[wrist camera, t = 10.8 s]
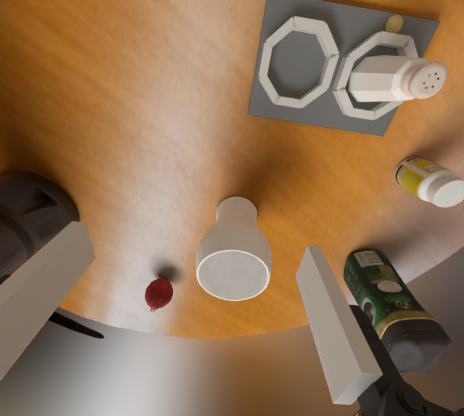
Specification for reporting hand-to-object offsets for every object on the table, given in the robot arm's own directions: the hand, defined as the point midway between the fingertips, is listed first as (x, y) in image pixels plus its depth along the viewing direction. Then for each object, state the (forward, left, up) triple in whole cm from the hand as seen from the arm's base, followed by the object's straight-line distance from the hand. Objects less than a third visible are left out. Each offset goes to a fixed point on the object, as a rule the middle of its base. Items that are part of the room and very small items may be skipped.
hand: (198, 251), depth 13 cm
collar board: (+13, +11, -24) cm, 30 cm away
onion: (-10, -34, -25) cm, 43 cm away
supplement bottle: (+30, 0, -25) cm, 38 cm away
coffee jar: (+32, -21, -25) cm, 45 cm away
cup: (+4, -13, -25) cm, 28 cm away
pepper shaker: (+17, +11, -24) cm, 31 cm away
